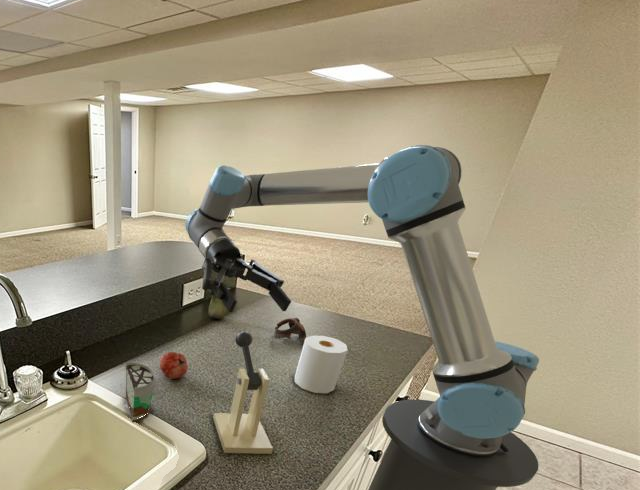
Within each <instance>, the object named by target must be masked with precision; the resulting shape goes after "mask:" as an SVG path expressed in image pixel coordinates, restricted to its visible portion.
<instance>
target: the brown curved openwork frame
mask: <svg viewBox="0 0 640 490" xmlns="http://www.w3.org/2000/svg"><path fill="white" fill-rule="evenodd" d="M287 324H288V327H289V328H286V329H279V328H281V327H282V326H284V325H287ZM274 330H275V331H274V335H273V336H274V337H275V338H278V339H285V338H287V339H289V340H291V335H292V334H293V335H297V336H298V339H301V340H302V346H303V345H304V341H305V338H307V331H306V329H305V326H304V325H303V324H302V323H301V321H300V319H299V318H298V317H294V318H293V317H291V318H290V317H289V318H285V319H283V320H280V321H279V322H278V323H276V326H275V327H274Z"/></svg>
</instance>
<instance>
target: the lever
mask: <svg viewBox="0 0 640 490" xmlns="http://www.w3.org/2000/svg"><path fill="white" fill-rule="evenodd" d="M234 341H235V344H236V345H237V346H238V347H240V348H242V353H243V354H242V355H243V358H244V364H245V369H246V374H247V375H248V377H249V384H248V388H247V391H253V390H257V389H258V388H259V386H260V384H261V383H260V379H259V374H258V373H257V372H258V371H257V372H255V371H254V365H253V361H252V356H251V350H250V346H251V344H252V343H253V336H252V334H251V333H250V332H248V331H247V330H246V331H245V330H243V331H240V332H239V331H238V333H237V334H236V335H235V339H234Z"/></svg>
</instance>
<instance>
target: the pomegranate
mask: <svg viewBox="0 0 640 490" xmlns="http://www.w3.org/2000/svg"><path fill="white" fill-rule="evenodd" d="M159 367H160V370H161V372H162V373H163V376H164V377H166V378H167V379H171V380H175V379H178V378H183V377H184V376H185V375H186V374H187V373H188V368H189V366H188V363H187V358H186V357H185V355H184V354H183V353H178V352H176V351H169V352H166V353H164V355H162V357H161V359H160V364H159Z"/></svg>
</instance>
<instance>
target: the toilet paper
mask: <svg viewBox="0 0 640 490" xmlns="http://www.w3.org/2000/svg"><path fill="white" fill-rule="evenodd" d="M347 353H348V346H347V344H346V343H344V342H343V341H341V340H340V339H337V338H333V337H330V336H327V335H310V336H306V338H305V341H304V345H303V344H302V349H301V352H300V356H299V360H298V363H297V366H296V371H295V374H294V383H295V384H296V385H297V386H298V387H300V388H301V389H302V390H306V391H308V392H311V393H314V394H329V393H331V392H333V391H335V389H336V385H337V383H338V380H339V377H340V374H341V371H342V369H343V365H344V362H345V360H346V357H347Z"/></svg>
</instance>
